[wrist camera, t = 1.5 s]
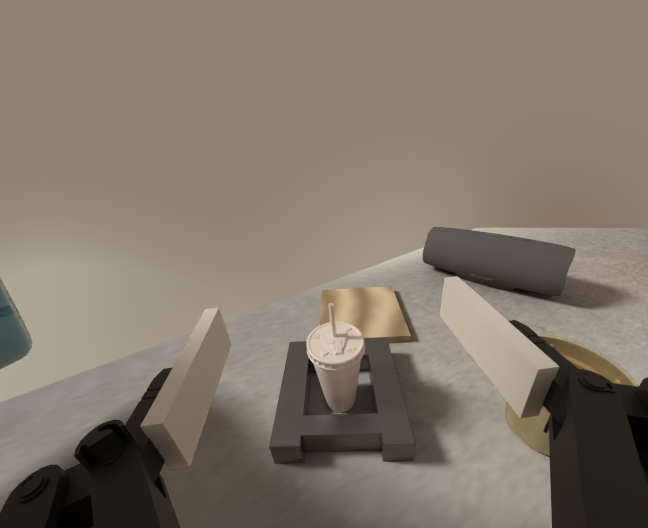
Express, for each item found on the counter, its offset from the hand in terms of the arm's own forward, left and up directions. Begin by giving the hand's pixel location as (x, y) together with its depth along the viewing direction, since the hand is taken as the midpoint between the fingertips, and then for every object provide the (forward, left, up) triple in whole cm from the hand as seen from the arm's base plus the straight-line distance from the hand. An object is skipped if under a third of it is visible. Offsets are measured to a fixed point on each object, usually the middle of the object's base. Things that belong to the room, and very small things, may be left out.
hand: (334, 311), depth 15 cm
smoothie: (-1, +9, -21) cm, 22 cm away
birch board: (+3, +25, -20) cm, 32 cm away
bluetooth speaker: (+29, +34, -21) cm, 49 cm away
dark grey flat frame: (-1, +9, -20) cm, 22 cm away
